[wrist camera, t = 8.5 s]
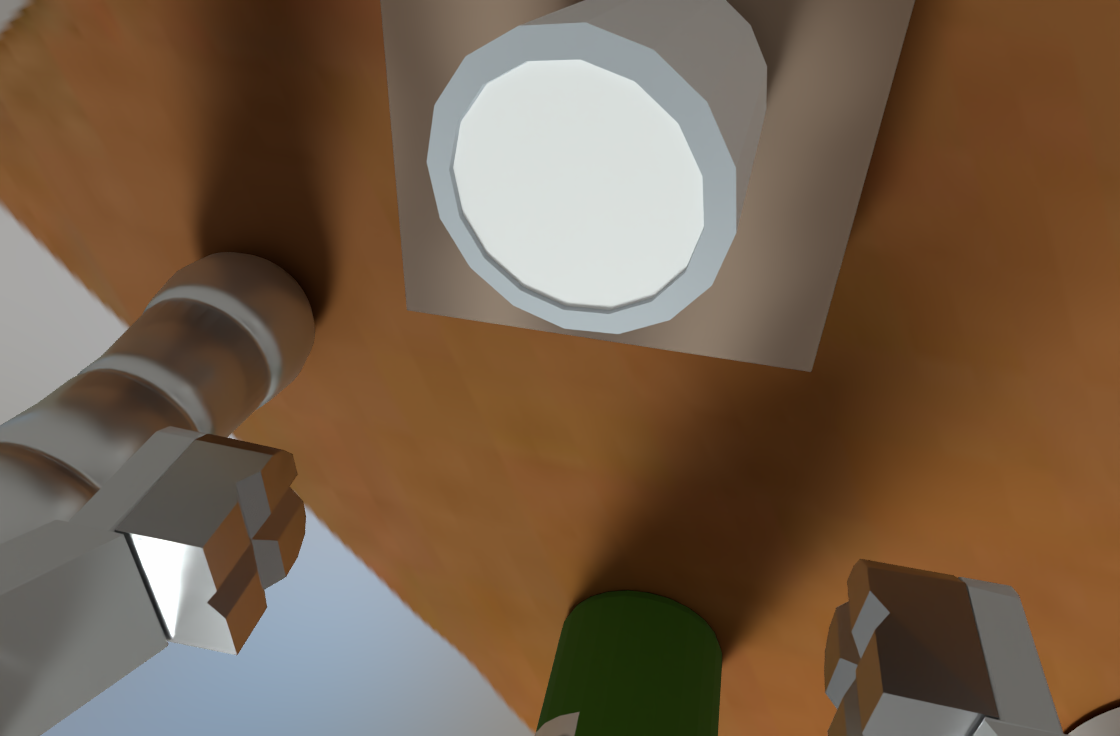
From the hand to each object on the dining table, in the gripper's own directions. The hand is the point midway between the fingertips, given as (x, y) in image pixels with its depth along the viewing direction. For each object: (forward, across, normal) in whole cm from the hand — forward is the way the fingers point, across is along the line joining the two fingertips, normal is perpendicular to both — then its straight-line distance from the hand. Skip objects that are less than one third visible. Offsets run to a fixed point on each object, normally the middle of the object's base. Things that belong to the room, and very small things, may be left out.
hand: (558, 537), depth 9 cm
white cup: (+16, 0, 0) cm, 16 cm away
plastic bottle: (+22, -18, -12) cm, 30 cm away
